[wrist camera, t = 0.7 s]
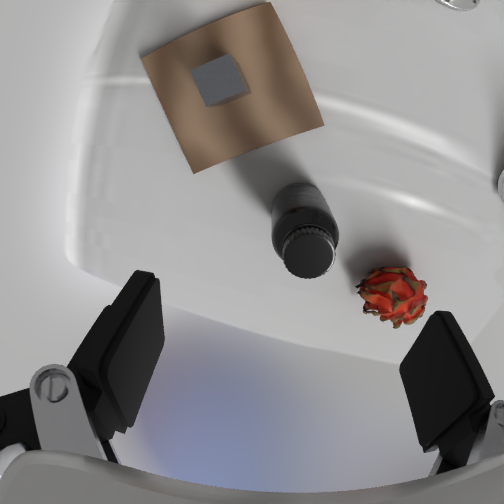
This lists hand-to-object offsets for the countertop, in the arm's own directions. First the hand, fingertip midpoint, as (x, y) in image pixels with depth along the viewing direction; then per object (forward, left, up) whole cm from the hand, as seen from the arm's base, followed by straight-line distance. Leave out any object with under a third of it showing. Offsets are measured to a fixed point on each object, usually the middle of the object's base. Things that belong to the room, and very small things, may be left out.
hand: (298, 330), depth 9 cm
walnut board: (+2, -11, -28) cm, 30 cm away
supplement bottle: (0, +6, -28) cm, 28 cm away
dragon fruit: (-9, +21, -28) cm, 36 cm away
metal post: (+2, -11, -26) cm, 28 cm away
